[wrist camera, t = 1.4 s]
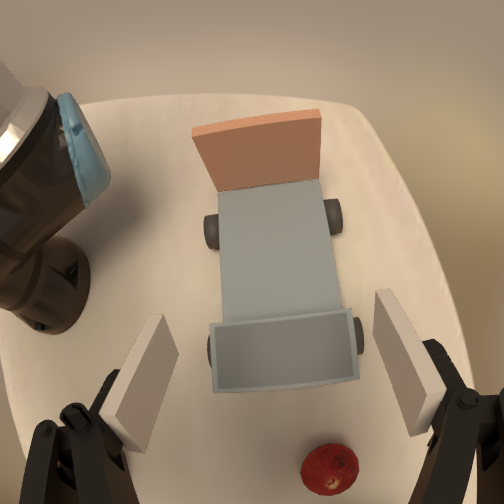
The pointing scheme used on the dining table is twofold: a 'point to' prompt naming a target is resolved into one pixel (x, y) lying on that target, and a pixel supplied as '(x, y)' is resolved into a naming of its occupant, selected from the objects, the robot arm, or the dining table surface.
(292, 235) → the pickup bed
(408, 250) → the dining table surface
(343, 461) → the red rounded piece
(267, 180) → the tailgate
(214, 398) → the dining table surface
